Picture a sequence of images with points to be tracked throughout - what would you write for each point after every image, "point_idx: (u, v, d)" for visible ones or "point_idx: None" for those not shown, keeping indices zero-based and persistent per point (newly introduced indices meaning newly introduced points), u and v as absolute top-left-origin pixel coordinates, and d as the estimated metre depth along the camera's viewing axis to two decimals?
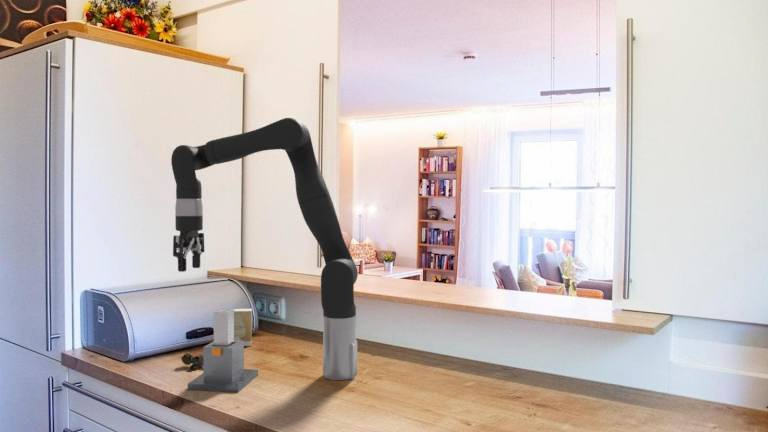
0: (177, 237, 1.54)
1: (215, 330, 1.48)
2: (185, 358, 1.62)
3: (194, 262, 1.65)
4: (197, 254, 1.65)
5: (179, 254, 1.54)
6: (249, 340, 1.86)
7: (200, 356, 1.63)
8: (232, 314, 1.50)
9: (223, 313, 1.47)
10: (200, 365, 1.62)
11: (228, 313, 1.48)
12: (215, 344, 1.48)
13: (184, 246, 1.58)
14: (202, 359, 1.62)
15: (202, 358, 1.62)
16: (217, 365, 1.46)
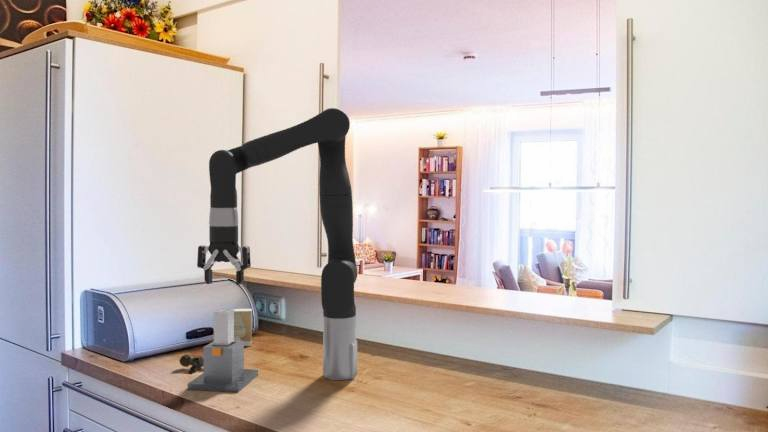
0: (247, 248, 1.48)
1: (215, 330, 1.48)
2: (184, 360, 1.60)
3: (209, 277, 1.49)
4: (210, 268, 1.50)
5: (249, 265, 1.49)
6: (249, 340, 1.86)
7: (199, 357, 1.61)
8: (232, 314, 1.50)
9: (223, 313, 1.47)
10: (199, 366, 1.61)
11: (228, 313, 1.48)
12: (215, 344, 1.48)
13: None
14: (202, 360, 1.61)
15: (201, 359, 1.61)
16: (217, 365, 1.46)
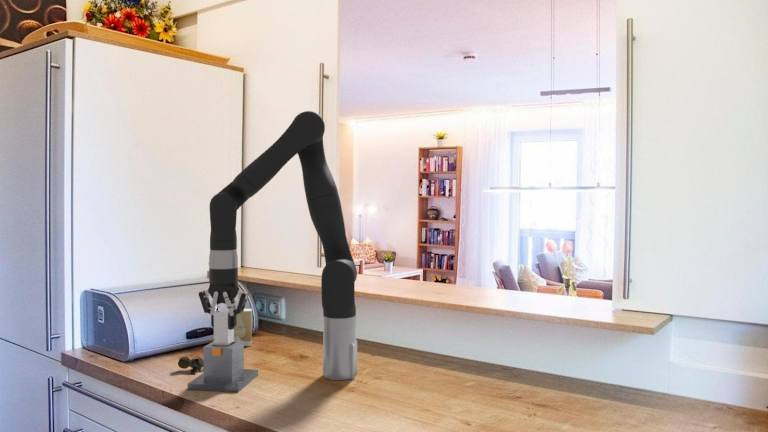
0: (246, 295, 1.48)
1: (215, 330, 1.48)
2: (183, 362, 1.59)
3: None
4: None
5: (242, 310, 1.49)
6: (249, 340, 1.86)
7: (199, 358, 1.60)
8: None
9: (223, 313, 1.47)
10: (199, 367, 1.60)
11: (228, 313, 1.48)
12: (215, 344, 1.48)
13: None
14: (201, 361, 1.60)
15: (201, 360, 1.60)
16: (217, 365, 1.46)
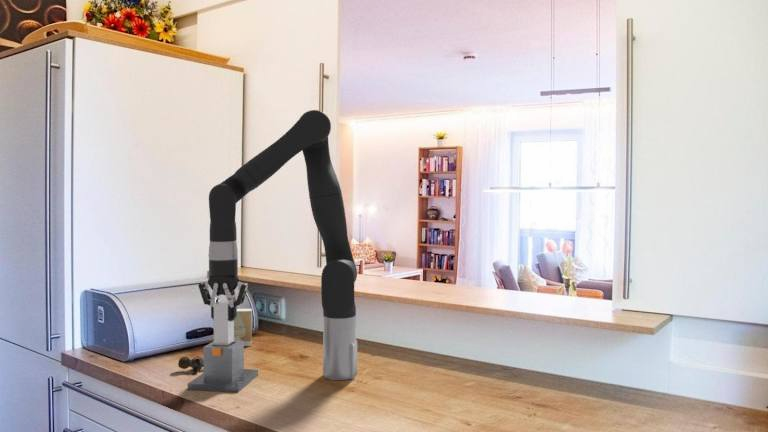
0: (246, 286, 1.48)
1: (215, 321, 1.48)
2: (183, 362, 1.58)
3: None
4: None
5: (242, 302, 1.49)
6: (249, 340, 1.86)
7: (199, 358, 1.60)
8: None
9: (223, 305, 1.47)
10: (200, 367, 1.60)
11: (228, 305, 1.48)
12: (215, 336, 1.48)
13: None
14: (202, 361, 1.60)
15: (202, 360, 1.60)
16: (217, 365, 1.46)
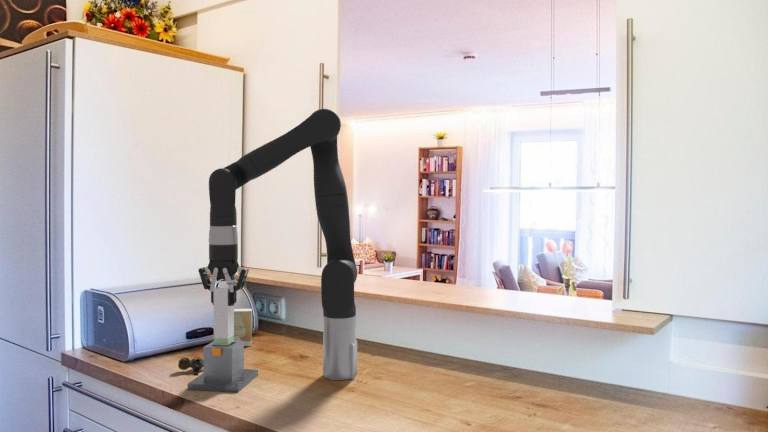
0: (246, 271, 1.48)
1: (215, 306, 1.48)
2: (184, 363, 1.58)
3: None
4: None
5: (242, 287, 1.49)
6: (249, 340, 1.86)
7: (200, 358, 1.60)
8: None
9: (223, 289, 1.47)
10: (200, 368, 1.60)
11: (228, 289, 1.48)
12: (215, 320, 1.48)
13: None
14: (202, 361, 1.60)
15: (202, 360, 1.60)
16: (217, 365, 1.46)
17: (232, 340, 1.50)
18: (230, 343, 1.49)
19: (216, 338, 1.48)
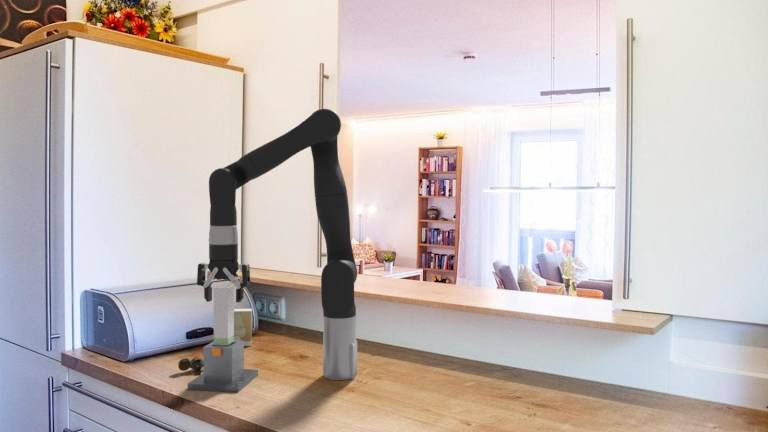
0: (247, 265, 1.48)
1: (215, 306, 1.48)
2: (184, 363, 1.57)
3: (209, 295, 1.49)
4: (210, 286, 1.50)
5: (249, 283, 1.49)
6: (249, 340, 1.86)
7: (200, 359, 1.60)
8: (232, 290, 1.50)
9: (223, 289, 1.47)
10: (200, 368, 1.59)
11: (228, 289, 1.48)
12: (215, 320, 1.48)
13: (232, 276, 1.49)
14: (202, 361, 1.60)
15: (202, 360, 1.60)
16: (217, 365, 1.46)
17: (232, 340, 1.50)
18: (230, 343, 1.49)
19: (216, 338, 1.48)
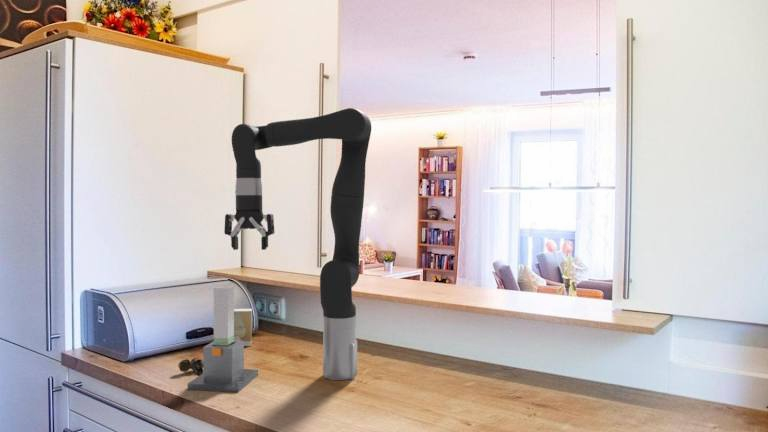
0: (271, 215, 1.59)
1: (215, 306, 1.48)
2: (185, 364, 1.56)
3: (236, 244, 1.60)
4: (236, 235, 1.61)
5: (273, 231, 1.60)
6: (249, 340, 1.86)
7: (200, 359, 1.59)
8: (232, 290, 1.50)
9: (223, 289, 1.47)
10: None
11: (228, 289, 1.48)
12: (215, 320, 1.48)
13: (258, 225, 1.59)
14: (202, 361, 1.60)
15: (202, 360, 1.60)
16: (217, 365, 1.46)
17: (232, 340, 1.50)
18: (230, 343, 1.49)
19: (216, 338, 1.48)
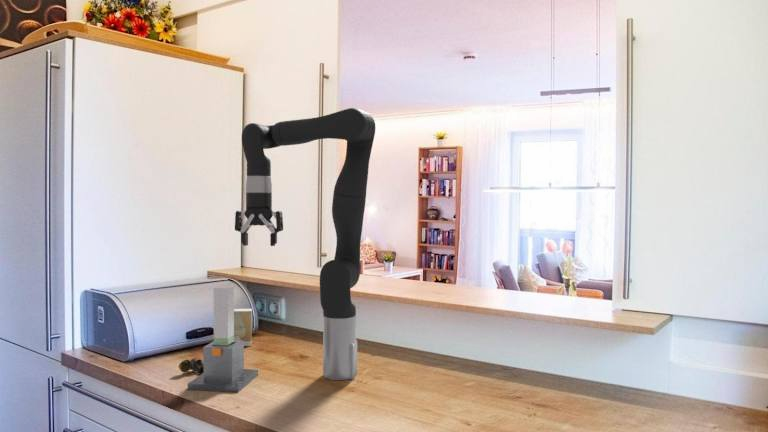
0: (280, 212, 1.63)
1: (215, 306, 1.48)
2: (187, 365, 1.55)
3: (246, 240, 1.64)
4: (246, 231, 1.65)
5: (282, 228, 1.64)
6: (249, 340, 1.86)
7: (199, 359, 1.59)
8: (232, 290, 1.50)
9: (223, 289, 1.47)
10: (200, 368, 1.59)
11: (228, 289, 1.48)
12: (215, 320, 1.48)
13: None
14: (202, 361, 1.60)
15: (201, 360, 1.60)
16: (217, 365, 1.46)
17: (232, 340, 1.50)
18: (230, 343, 1.49)
19: (216, 338, 1.48)
